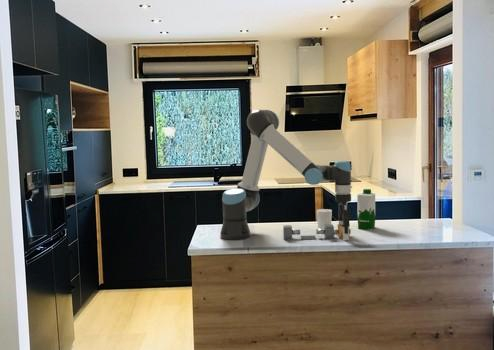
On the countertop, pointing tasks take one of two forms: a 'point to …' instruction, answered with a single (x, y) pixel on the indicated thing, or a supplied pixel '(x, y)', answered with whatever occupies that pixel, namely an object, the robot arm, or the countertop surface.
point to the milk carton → (366, 209)
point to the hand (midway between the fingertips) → (343, 236)
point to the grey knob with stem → (327, 231)
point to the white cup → (323, 217)
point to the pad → (308, 237)
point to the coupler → (341, 231)
